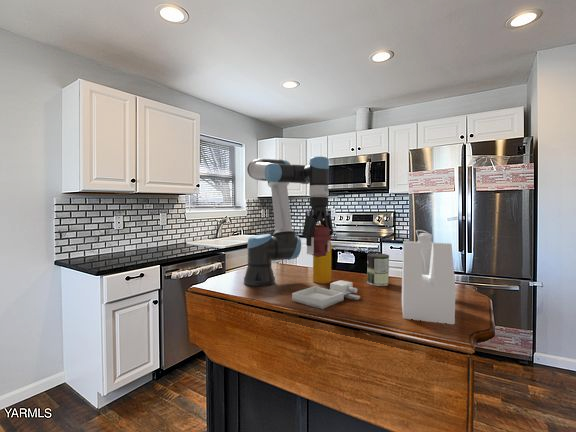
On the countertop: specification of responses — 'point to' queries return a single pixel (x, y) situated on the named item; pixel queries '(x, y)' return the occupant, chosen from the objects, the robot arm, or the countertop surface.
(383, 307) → the countertop surface
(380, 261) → the coffee can
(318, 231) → the mechanical component
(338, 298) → the tray
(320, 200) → the robot arm
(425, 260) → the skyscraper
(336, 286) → the block
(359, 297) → the track
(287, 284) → the countertop surface
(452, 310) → the white notched block
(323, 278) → the beer bottle
